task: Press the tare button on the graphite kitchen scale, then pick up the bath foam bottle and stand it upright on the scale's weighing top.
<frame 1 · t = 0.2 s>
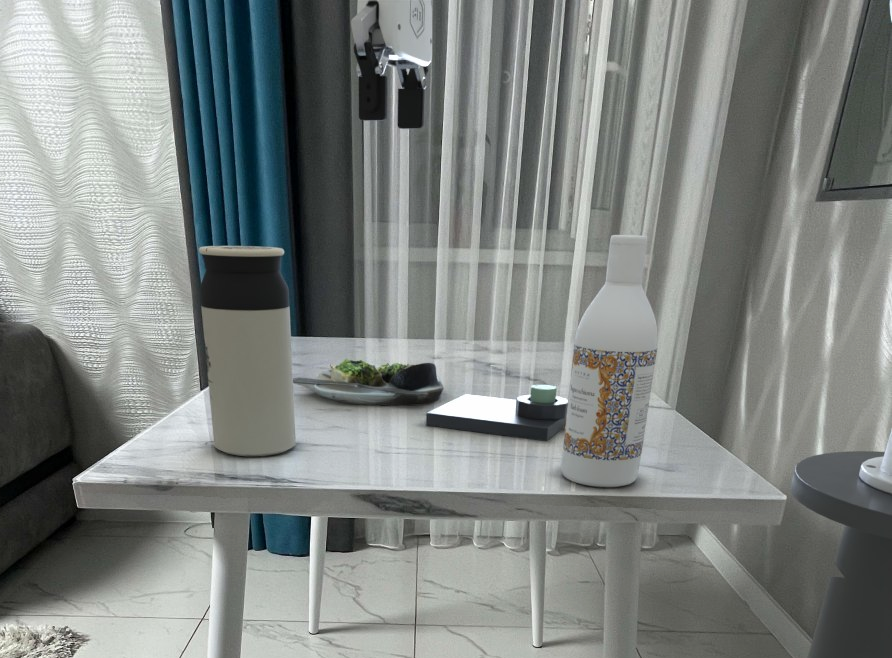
hand: (392, 124, 93), 30 cm above the table, tool pointing down, fingers open, 9 cm apart
travel mug: (255, 449, 81), on the table
bath foam: (598, 479, 74), on the table
tare button: (543, 394, 90), point 4 cm above the table, slide at 0.1 cm
salad plate: (382, 395, 105), on the table
scale: (502, 421, 93), on the table
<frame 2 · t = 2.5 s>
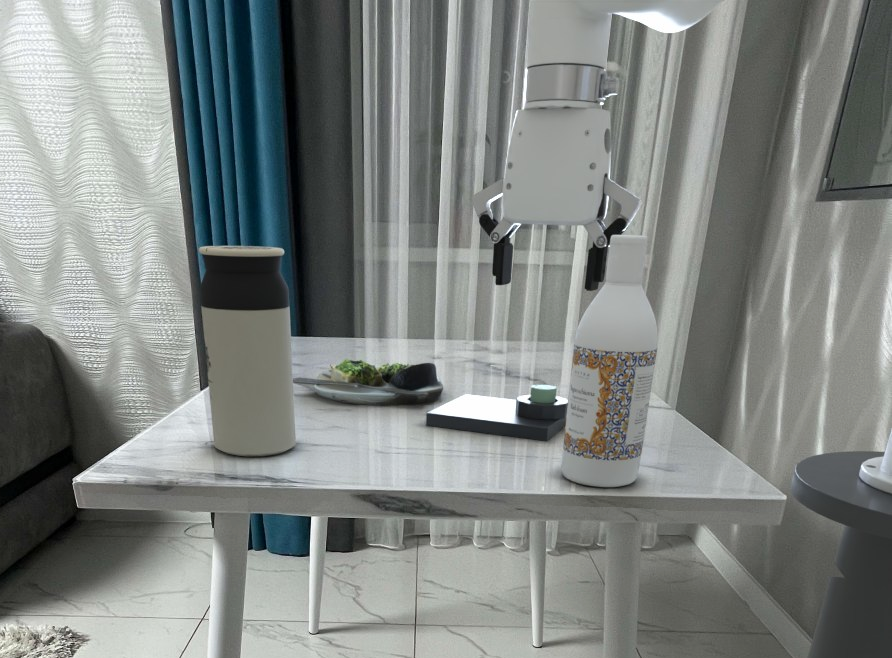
hand: (546, 287, 85), 15 cm above the table, tool pointing down, fingers open, 9 cm apart
nothing on the table moved.
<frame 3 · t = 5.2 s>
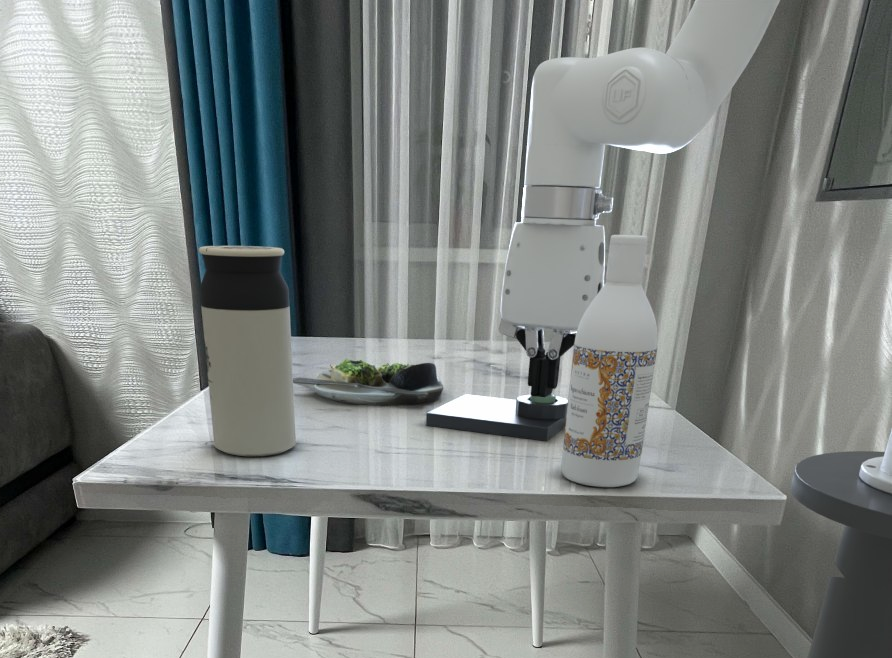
hand: (541, 394, 90), 4 cm above the table, tool pointing down, fingers closed
tare button: (542, 402, 90), point 3 cm above the table, slide at -0.7 cm, touching gripper
everything else where it was.
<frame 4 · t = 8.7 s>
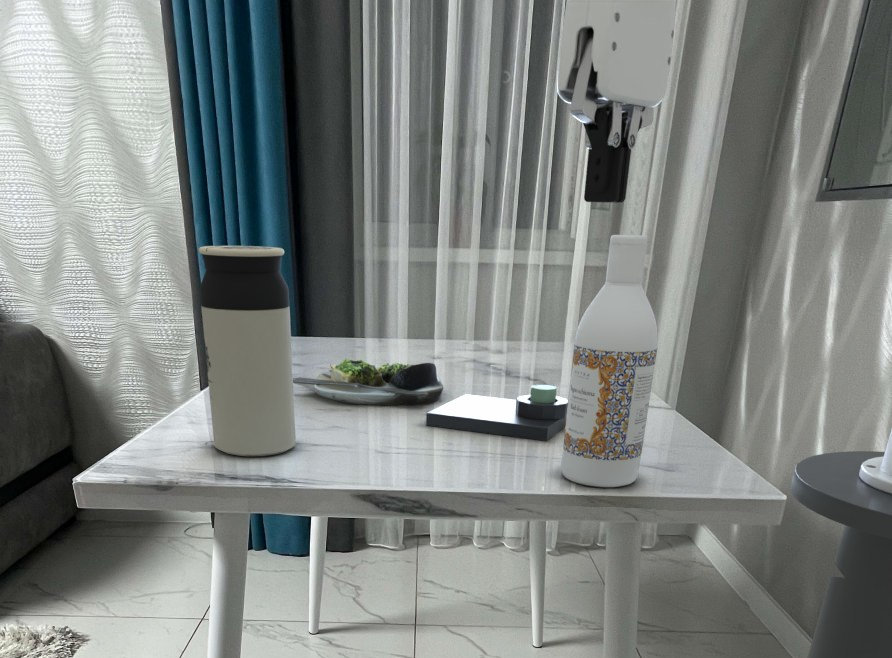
hand: (604, 201, 70), 22 cm above the table, tool pointing down, fingers closed
tare button: (543, 395, 90), point 4 cm above the table, slide at 0.1 cm
everything else where it was.
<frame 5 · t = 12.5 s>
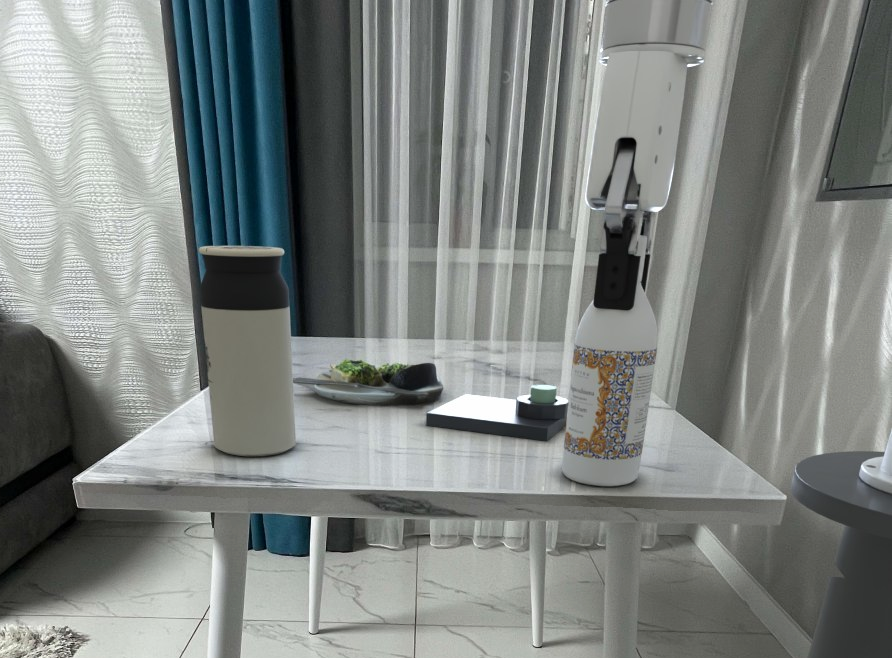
hand: (618, 304, 67), 15 cm above the table, tool pointing down, fingers closed on bath foam, 3 cm apart
bath foam: (598, 478, 75), on the table, touching gripper
everything else where it was.
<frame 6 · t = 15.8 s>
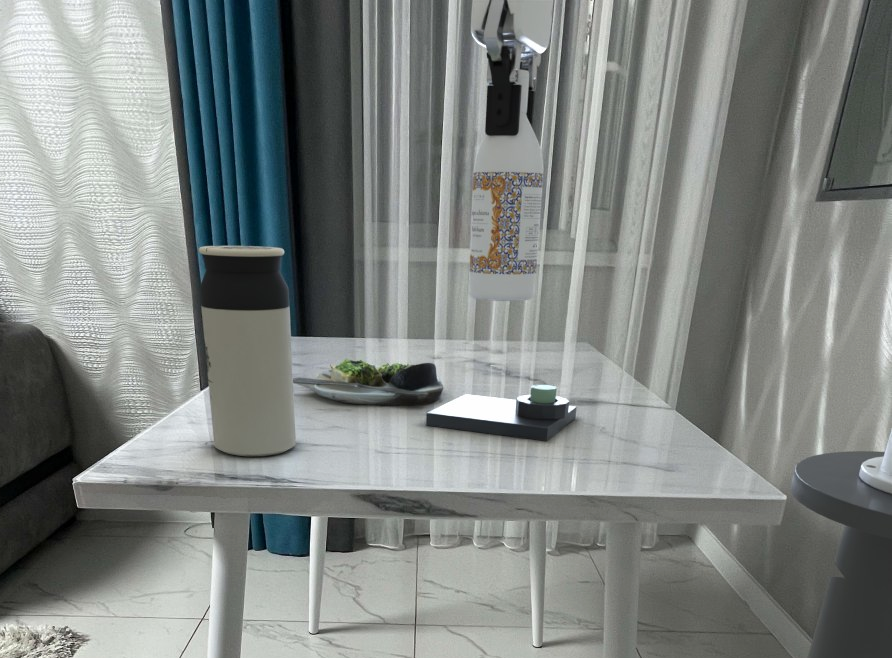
hand: (508, 135, 79), 28 cm above the table, tool pointing down, fingers closed on bath foam, 3 cm apart
bath foam: (501, 300, 86), point 13 cm above the table, touching gripper
everything else where it was.
when the fingers open (16 cm above the table, at t = 19.2 s): bath foam stays where it is, resting on scale.
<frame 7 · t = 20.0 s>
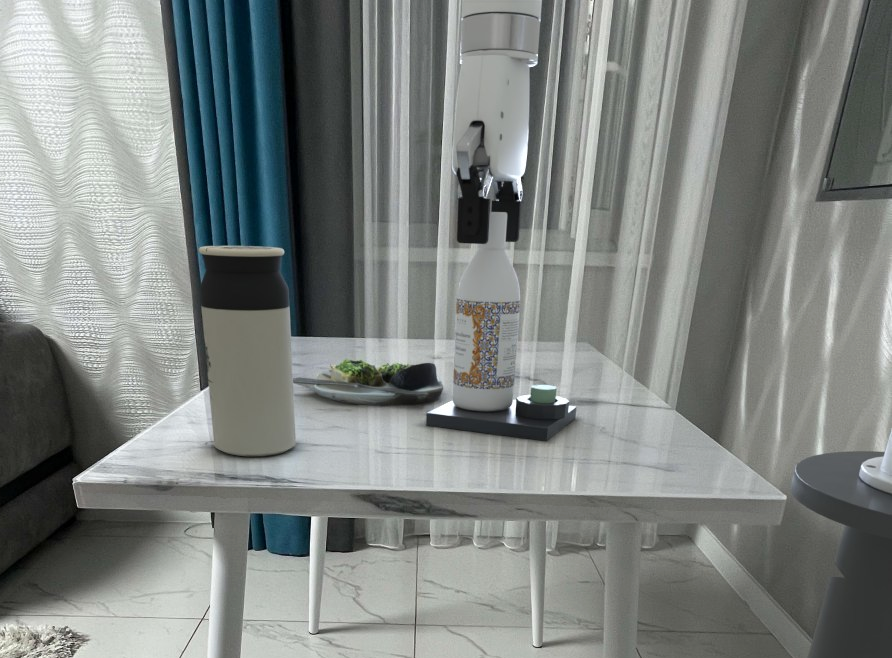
hand: (488, 242, 85), 19 cm above the table, tool pointing down, fingers open, 9 cm apart
bath foam: (482, 407, 94), point 1 cm above the table, touching scale
everything else where it was.
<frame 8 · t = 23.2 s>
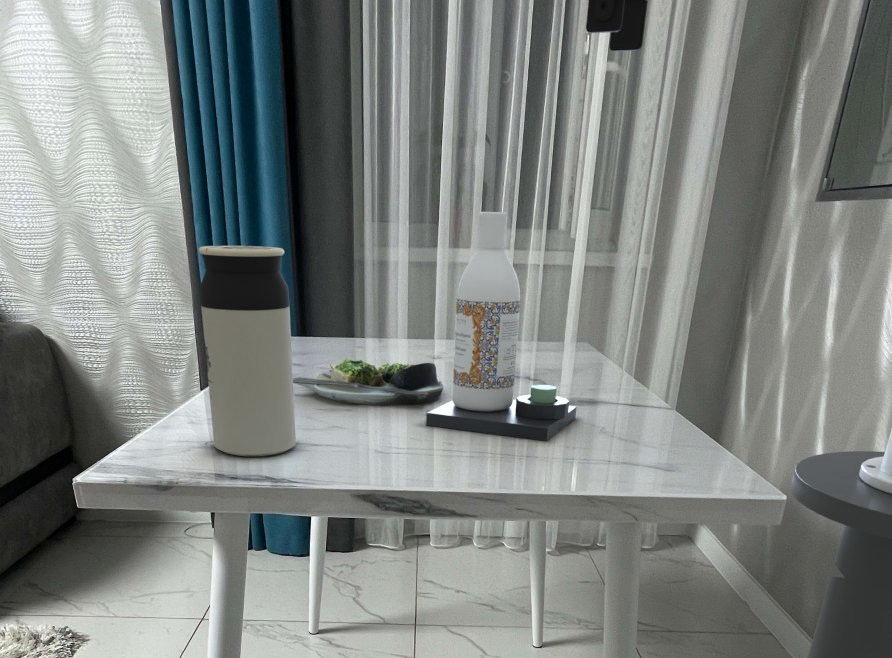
hand: (614, 41, 78), 36 cm above the table, tool pointing down, fingers open, 9 cm apart
nothing on the table moved.
at the end: tare button pushed in 0.9 cm at the most during the clip, back to where it started at the end; bath foam inside the target area on the scale (0.5 cm from its centre), point 1.2 cm above the scale's base; bath foam tilted 0° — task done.
